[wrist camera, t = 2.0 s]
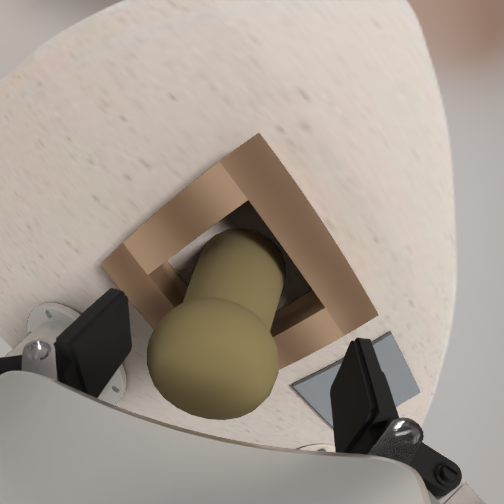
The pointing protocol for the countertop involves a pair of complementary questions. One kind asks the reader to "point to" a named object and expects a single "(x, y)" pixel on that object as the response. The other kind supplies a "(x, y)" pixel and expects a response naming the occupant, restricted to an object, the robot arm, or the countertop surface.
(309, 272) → the wooden square frame
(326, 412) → the rubber mat
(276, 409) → the countertop surface
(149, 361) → the olive rounded peg
